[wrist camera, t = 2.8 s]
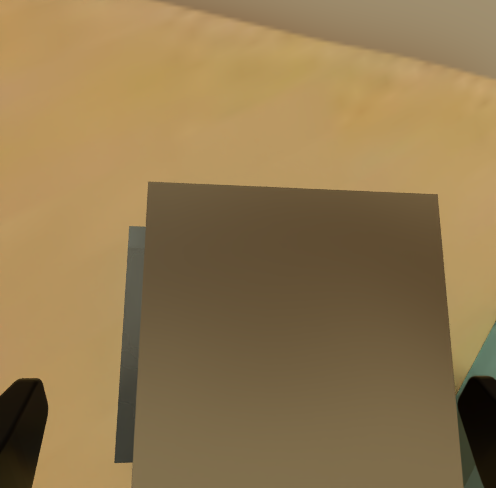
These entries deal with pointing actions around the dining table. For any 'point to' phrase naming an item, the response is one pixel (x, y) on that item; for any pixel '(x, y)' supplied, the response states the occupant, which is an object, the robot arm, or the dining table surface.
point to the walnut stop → (294, 341)
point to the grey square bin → (130, 346)
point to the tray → (486, 364)
